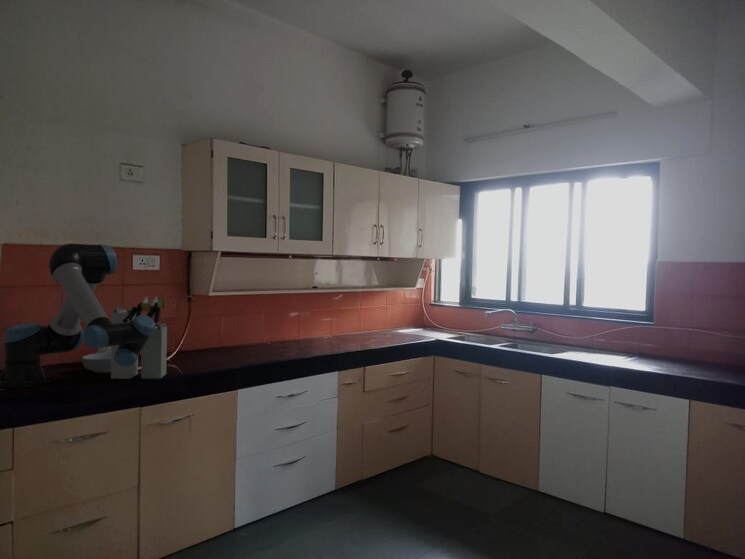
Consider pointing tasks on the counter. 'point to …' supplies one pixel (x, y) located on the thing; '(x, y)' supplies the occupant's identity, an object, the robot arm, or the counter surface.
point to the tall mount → (116, 369)
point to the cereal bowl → (98, 362)
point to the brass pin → (147, 305)
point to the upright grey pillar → (155, 354)
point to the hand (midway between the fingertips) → (151, 299)
